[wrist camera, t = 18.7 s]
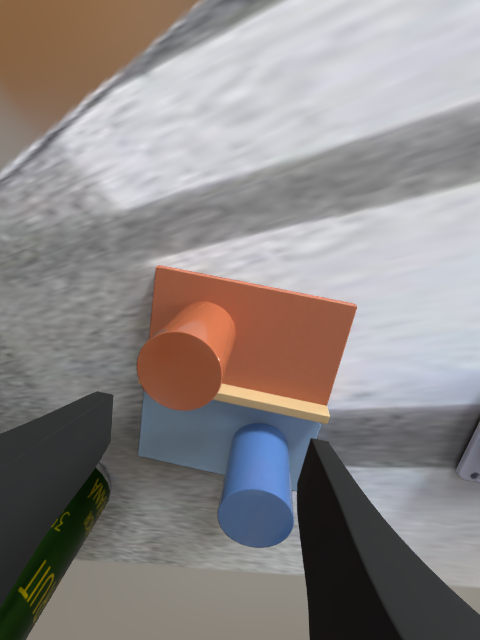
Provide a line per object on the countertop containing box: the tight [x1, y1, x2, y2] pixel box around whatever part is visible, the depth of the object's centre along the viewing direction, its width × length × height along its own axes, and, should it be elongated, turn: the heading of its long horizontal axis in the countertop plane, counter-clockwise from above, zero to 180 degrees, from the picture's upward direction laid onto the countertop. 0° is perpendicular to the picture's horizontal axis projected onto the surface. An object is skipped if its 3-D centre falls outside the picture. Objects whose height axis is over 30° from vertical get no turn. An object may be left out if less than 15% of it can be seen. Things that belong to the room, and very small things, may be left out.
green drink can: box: [0, 463, 111, 640], centre depth 19 cm, size 5×5×12 cm
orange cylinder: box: [137, 301, 236, 411], centre depth 17 cm, size 4×4×6 cm
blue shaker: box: [218, 423, 294, 548], centre depth 19 cm, size 4×4×6 cm
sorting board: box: [138, 265, 357, 491], centre depth 20 cm, size 12×14×2 cm
